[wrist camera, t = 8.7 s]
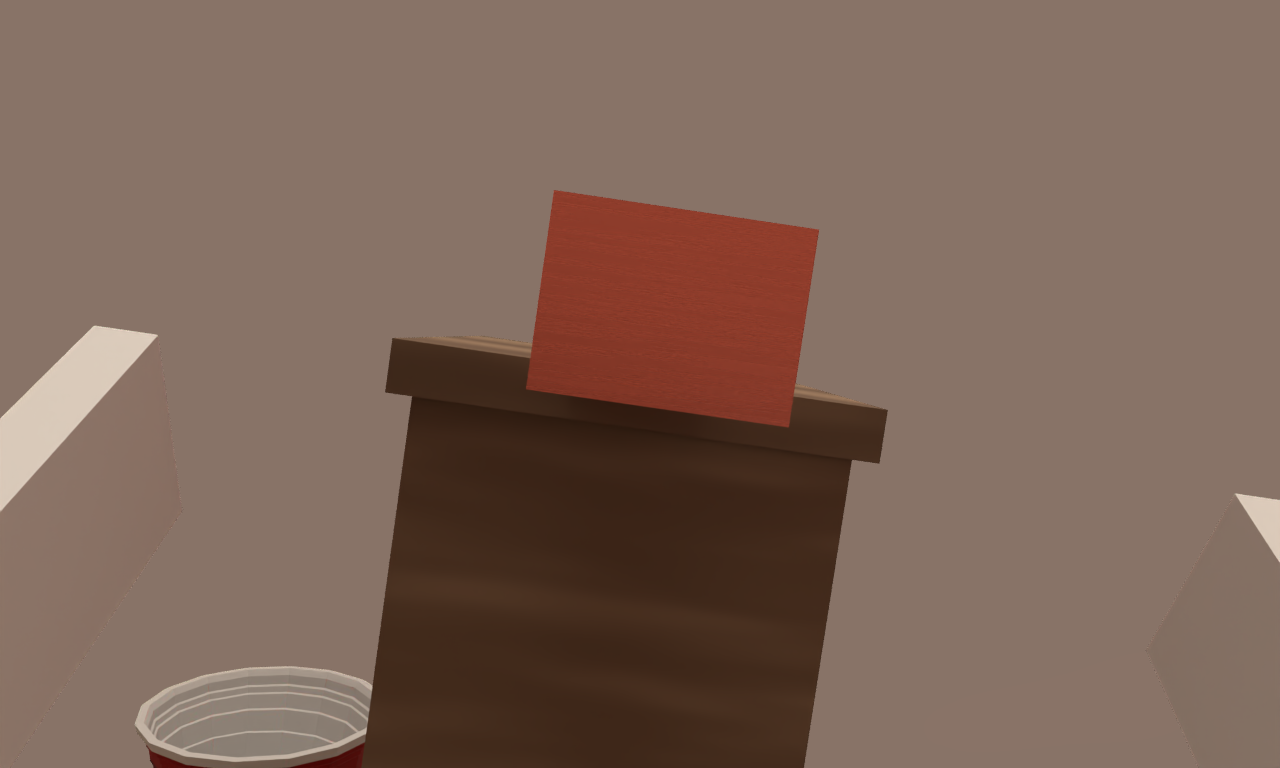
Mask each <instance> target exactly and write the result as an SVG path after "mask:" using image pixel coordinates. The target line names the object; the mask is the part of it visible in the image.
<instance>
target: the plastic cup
mask: <svg viewBox="0 0 1280 768" xmlns="http://www.w3.org/2000/svg"><path fill="white" fill-rule="evenodd" d="M372 687H373V686H372V685H370V684H369V683H368V682H366V681H365V680H362V679H359V678H355V677H352V676H349V675H346V674H342V673H339V672H335V671H332V670H323V669H314V668H303V667H294V666H286V667H284V666H283V667H257V668H243V669H237V670H232V671H226V672H220V673H214V674H208V675H203V676H200V677H197V678H194V679H191V680H189V681H186V682H183V683H180V684H177V685H174V686H171V687H168V688H166V689H164V690H163V691H162V692H160V693H159V694H157V695H156V696H155V697H153V698H152V699H150V700H149V701H147V702H146V703H144V704H143V705H142V706H141V708H140V711H139V714H138V717H137V720H136V723H135V727H136V730H137V733H138V735H139V736H140V737H141V738H142V740H143V741H144V742H145V743H146V746H147V748H148V749H149V754H150V761H151V763H152V764H153V767H154V768H361V767H362V760H363V753H364V745H365V738H366V731H367V723H368V716H369V709H370V701H371V694H372Z"/></svg>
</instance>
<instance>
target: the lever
mask: <svg viewBox="0 0 1280 768" xmlns="http://www.w3.org/2000/svg"><path fill="white" fill-rule="evenodd" d="M818 233H819V230H817V229H810V228H804V227H797V226H790V225H784V224H777V223H771V222H764V221H757V220H750V219H744V218H737V217H730V216H724V215H717V214H710V213H704V212H697V211H690V210H683V209H677V208H670V207H663V206H657V205H650V204H643V203H637V202H629V201H623V200H616V199H610V198H603V197H597V196H590V195H583V194H576V193H570V192H563V191H556V190H554V195H553V202H552V209H551V216H550V223H549V230H548V237H547V244H546V251H545V258H544V266H543V273H542V279H541V287H540V294H539V301H538V308H537V315H536V322H535V329H534V336H533V343H532V350H531V357H530V364H529V371H528V378H527V386H526V389H527V390H534V391H540V392H547V393H554V394H561V395H568V396H575V397H582V398H589V399H596V400H603V401H610V402H616V403H623V404H630V405H637V406H644V407H651V408H658V409H665V410H672V411H679V412H686V413H692V414H699V415H706V416H713V417H720V418H727V419H734V420H741V421H748V422H755V423H762V424H768V425H775V426H782V427H789V422H790V416H791V409H792V403H793V396H794V390H795V383H796V377H797V370H798V363H799V357H800V350H801V344H802V338H803V331H804V324H805V318H806V311H807V305H808V298H809V291H810V285H811V279H812V272H813V266H814V258H815V253H816V246H817V240H818Z"/></svg>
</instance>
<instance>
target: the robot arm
mask: <svg viewBox="0 0 1280 768" xmlns="http://www.w3.org/2000/svg"><path fill="white" fill-rule="evenodd" d="M181 512H182V505H181V498H180V490H179V483H178V476H177V468H176V461H175V454H174V446H173V439H172V432H171V425H170V417H169V411H168V403H167V395H166V388H165V381H164V373H163V366H162V359H161V352H160V344H159V337H158V335H155V334H148V333H141V332H134V331H128V330H121V329H114V328H107V327H100V326H93V327H92V328H91V329H90V331H88V332H87V333H86V334H85V335H84V336H83V337H82V338H81V339H80V340H79V341H78V342H77V343H76V344H75V345H74V346H73V347H72V348H71V349H70V350H69V351H68V352H67V353H66V354H65V355H64V356H63V357H62V358H61V359H60V360H59V361H58V362H57V363H56V364H55V365H54V366H53V367H52V368H51V369H50V370H49V371H48V372H47V373H46V374H45V375H44V376H43V377H42V378H41V379H40V380H39V381H38V382H37V383H36V384H35V385H34V386H33V387H32V388H31V389H30V390H29V391H28V392H27V393H26V394H25V395H24V396H23V397H22V398H21V399H20V400H19V401H18V402H17V403H16V404H15V405H14V406H13V407H12V408H10V410H9V411H7V412H6V413H5V414H4V415H3V416H2V417H1V418H0V768H11V766H12V765H13V763H14V762H15V760H16V759H17V757H18V756H19V754H20V753H21V752H22V750H23V749H24V747H25V746H26V744H27V742H28V741H29V739H30V738H31V737H32V735H33V734H34V732H35V731H36V729H37V728H38V726H39V724H40V723H41V722H42V720H43V718H44V717H45V716H46V714H47V713H48V711H49V710H50V708H51V707H52V705H53V704H54V702H55V701H56V699H57V698H58V696H59V694H60V693H61V692H62V690H63V689H64V687H65V686H66V684H67V683H68V681H69V680H70V678H71V677H72V675H73V674H74V672H75V671H76V669H77V668H78V666H79V665H80V663H81V662H82V660H83V659H84V657H85V656H86V654H87V653H88V651H89V650H90V648H91V647H92V645H93V644H94V642H95V641H96V639H97V638H98V636H99V635H100V633H101V632H102V631H103V629H104V628H105V626H106V625H107V623H108V621H109V620H110V619H111V617H112V616H113V614H114V612H115V611H116V610H117V608H118V607H119V605H120V603H121V602H122V600H123V599H124V598H125V596H126V594H127V593H128V592H129V590H130V589H131V587H132V586H133V584H134V582H135V581H136V580H137V578H138V577H139V575H140V574H141V572H142V571H143V569H144V568H145V566H146V565H147V563H148V561H149V560H150V559H151V557H152V556H153V554H154V553H155V551H156V550H157V548H158V547H159V545H160V544H161V542H162V541H163V539H164V538H165V536H166V535H167V533H168V532H169V530H170V529H171V527H172V526H173V524H174V523H175V521H176V520H177V518H178V517H179V515H180V514H181ZM1146 652H1147V654H1148V656H1149V659H1150V661H1151V663H1152V665H1153V668H1154V670H1155V672H1156V674H1157V677H1158V679H1159V681H1160V683H1161V685H1162V688H1163V690H1164V692H1165V694H1166V696H1167V699H1168V701H1169V703H1170V705H1171V708H1172V710H1173V712H1174V714H1175V717H1176V719H1177V721H1178V723H1179V725H1180V728H1181V730H1182V732H1183V735H1184V737H1185V739H1186V741H1187V743H1188V746H1189V748H1190V750H1191V752H1192V755H1193V757H1194V759H1195V761H1196V763H1197V766H1198V768H1280V500H1275V499H1268V498H1261V497H1255V496H1248V495H1241V494H1234V496H1233V498H1232V500H1231V501H1230V503H1229V505H1228V507H1227V508H1226V510H1225V512H1224V514H1223V515H1222V517H1221V519H1220V521H1219V522H1218V524H1217V526H1216V528H1215V529H1214V532H1213V533H1212V535H1211V536H1210V538H1209V540H1208V542H1207V544H1206V545H1205V547H1204V549H1203V551H1202V552H1201V554H1200V556H1199V558H1198V559H1197V561H1196V563H1195V565H1194V567H1193V568H1192V570H1191V572H1190V574H1189V575H1188V577H1187V579H1186V581H1185V582H1184V584H1183V586H1182V588H1181V590H1180V591H1179V593H1178V595H1177V596H1176V598H1175V600H1174V602H1173V603H1172V605H1171V607H1170V609H1169V611H1168V613H1167V614H1166V616H1165V618H1164V619H1163V621H1162V623H1161V625H1160V626H1159V628H1158V630H1157V632H1156V633H1155V635H1154V637H1153V639H1152V641H1151V642H1150V644H1149V646H1148V648H1147V649H1146Z"/></svg>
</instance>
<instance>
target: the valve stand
mask: <svg viewBox="0 0 1280 768" xmlns="http://www.w3.org/2000/svg"><path fill="white" fill-rule="evenodd" d="M531 350H532V343H527V342H521V341H514V340H507V339H500V338H493V337H486V336H464V337H463V336H461V337H419V338H393V339H392V346H391V353H390V361H389V369H388V375H387V383H386V390H385V392H386V393H393V394H400V395H407V396H412V402H411V408H410V416H409V423H408V430H407V438H406V445H405V452H404V460H403V467H402V474H401V482H400V489H399V496H398V504H397V511H396V518H395V526H394V533H393V540H392V548H391V555H390V562H389V570H388V577H387V584H386V591H385V599H384V606H383V613H382V621H381V629H380V636H379V643H378V650H377V657H376V665H375V672H374V680H373V687H372V694H371V701H370V709H369V716H368V723H367V731H366V738H365V745H364V753H363V760H362V767H361V768H804V763H805V757H806V750H807V743H808V737H809V731H810V725H811V718H812V712H813V705H814V699H815V692H816V686H817V680H818V673H819V667H820V660H821V654H822V648H823V640H824V635H825V629H826V622H827V615H828V609H829V603H830V597H831V589H832V584H833V577H834V571H835V564H836V558H837V552H838V545H839V538H840V532H841V525H842V520H843V513H844V507H845V501H846V494H847V487H848V481H849V475H850V468H851V461H852V460H858V461H865V462H872V463H879V462H880V456H881V450H882V443H883V437H884V430H885V424H886V418H887V411H888V410H886V409H882V408H879V407H875V406H872V405H868V404H865V403H861V402H858V401H855V400H851V399H848V398H844V397H841V396H838V395H834V394H831V393H827V392H824V391H820V390H817V389H813V388H810V387H806V386H803V385H800V384H796V383H795V390H794V396H793V403H792V409H791V416H790V422H789V427H782V426H775V425H768V424H762V423H755V422H748V421H741V420H734V419H727V418H720V417H713V416H706V415H699V414H692V413H686V412H679V411H672V410H665V409H658V408H651V407H644V406H637V405H630V404H623V403H616V402H610V401H603V400H596V399H589V398H582V397H575V396H568V395H561V394H554V393H547V392H540V391H534V390H527V389H526V386H527V378H528V371H529V364H530V357H531Z"/></svg>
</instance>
